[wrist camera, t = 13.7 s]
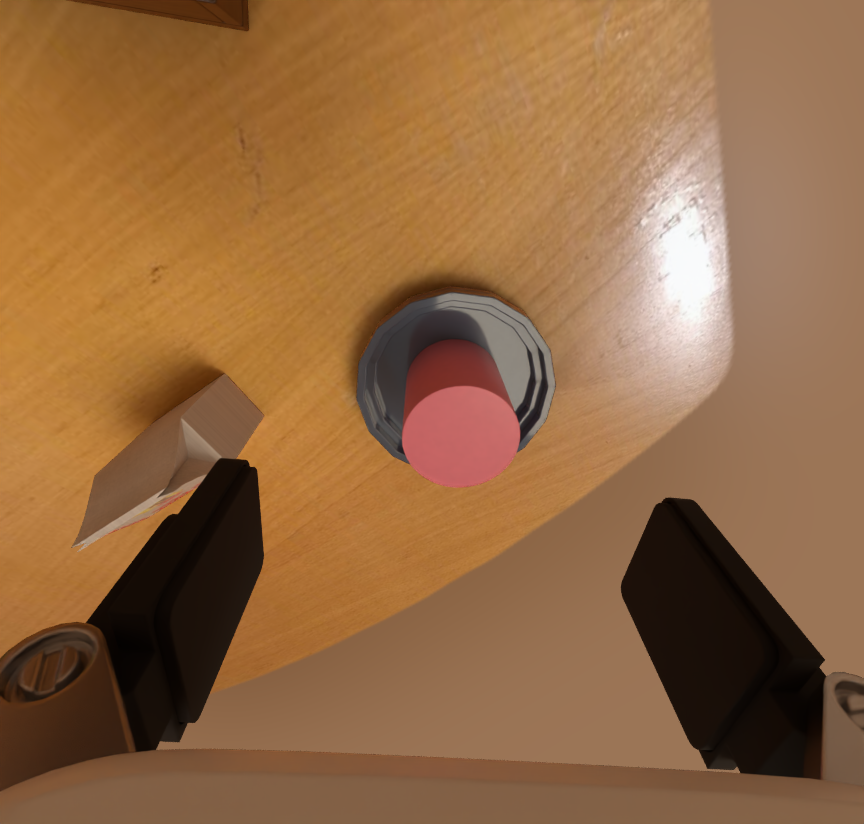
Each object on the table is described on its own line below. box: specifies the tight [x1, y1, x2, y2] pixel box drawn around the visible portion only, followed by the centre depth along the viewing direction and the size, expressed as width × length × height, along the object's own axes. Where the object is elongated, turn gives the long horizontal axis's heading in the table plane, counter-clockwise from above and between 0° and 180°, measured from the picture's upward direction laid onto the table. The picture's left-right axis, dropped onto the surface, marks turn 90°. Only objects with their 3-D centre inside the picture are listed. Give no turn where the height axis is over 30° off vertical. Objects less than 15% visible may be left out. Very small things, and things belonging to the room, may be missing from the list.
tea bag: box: [71, 373, 264, 552], centre depth 26 cm, size 4×7×10 cm, turn 123°
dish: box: [356, 286, 556, 465], centre depth 28 cm, size 12×12×2 cm
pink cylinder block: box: [402, 339, 520, 487], centre depth 26 cm, size 6×6×7 cm
